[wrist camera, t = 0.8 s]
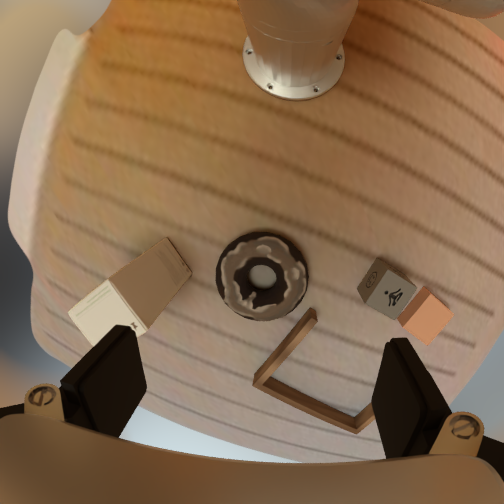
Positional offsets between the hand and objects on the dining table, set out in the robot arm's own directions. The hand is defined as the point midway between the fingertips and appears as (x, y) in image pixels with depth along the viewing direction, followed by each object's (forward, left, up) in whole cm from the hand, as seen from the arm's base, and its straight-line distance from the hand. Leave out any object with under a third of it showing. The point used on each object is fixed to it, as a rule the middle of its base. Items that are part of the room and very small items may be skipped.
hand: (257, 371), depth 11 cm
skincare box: (+15, -10, -30) cm, 35 cm away
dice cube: (-1, +16, -30) cm, 34 cm away
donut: (+7, +2, -30) cm, 31 cm away
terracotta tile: (-1, +25, -30) cm, 39 cm away
